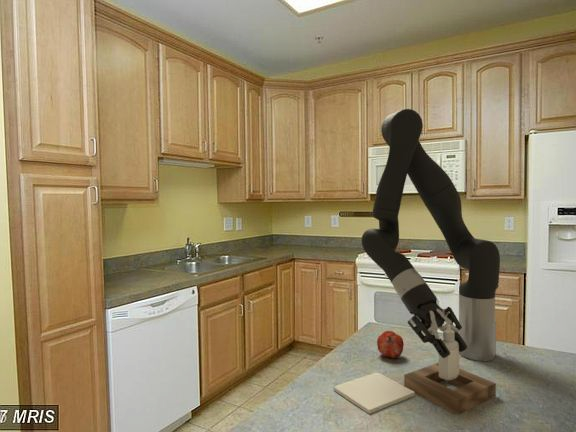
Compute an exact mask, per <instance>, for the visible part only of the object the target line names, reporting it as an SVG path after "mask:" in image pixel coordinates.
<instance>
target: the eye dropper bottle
mask: <svg viewBox="0 0 576 432" xmlns="http://www.w3.org/2000/svg"><path fill="white" fill-rule="evenodd" d="M441 340H442V341H443V343H444V344H445V346H446V347H447V349H448V350H449V351H450V355H449V356H447V357H446V358H442V357H441V356H440V355H439V354H438V363H439V377H440V378H442V379H444V380H453V379H455V378H457V377H458V375H459V368H460V353H459V344H458V342H457V341H455V337H454V331H453V330H451V326H450V325H447V328H446V329H445V330H443V331H442V339H441Z"/></svg>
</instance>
